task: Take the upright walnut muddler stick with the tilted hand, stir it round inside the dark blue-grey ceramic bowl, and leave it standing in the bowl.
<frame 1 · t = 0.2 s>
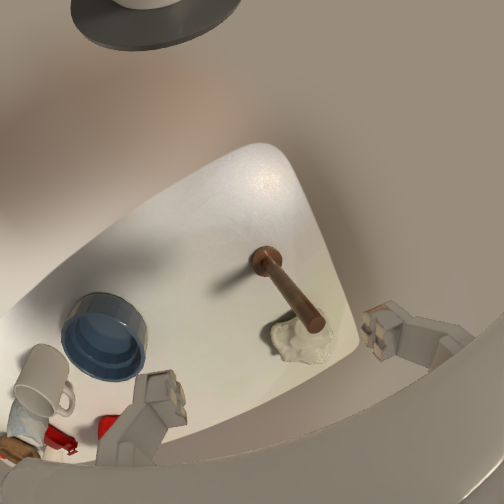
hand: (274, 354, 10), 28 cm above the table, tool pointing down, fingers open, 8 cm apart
toy car: (54, 429, 43), on the table
white tapered cup: (54, 449, 46), on the table
decorative stone: (295, 329, 47), on the table
figurine: (38, 393, 39), on the table
mug: (57, 366, 38), on the table
stir bowl: (108, 327, 38), on the table
muddler: (265, 260, 41), on the table
bowl: (22, 442, 43), on the table
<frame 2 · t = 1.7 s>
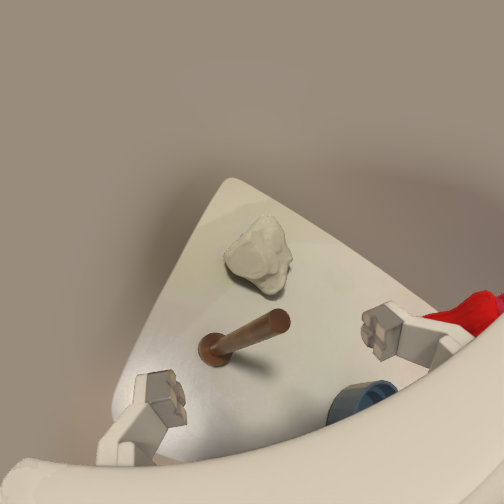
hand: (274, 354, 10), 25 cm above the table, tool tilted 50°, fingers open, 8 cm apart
water bottle: (421, 341, 53), on the table
decorative stone: (255, 264, 43), on the table
stir bowl: (354, 420, 37), on the table
muddler: (214, 350, 34), on the table
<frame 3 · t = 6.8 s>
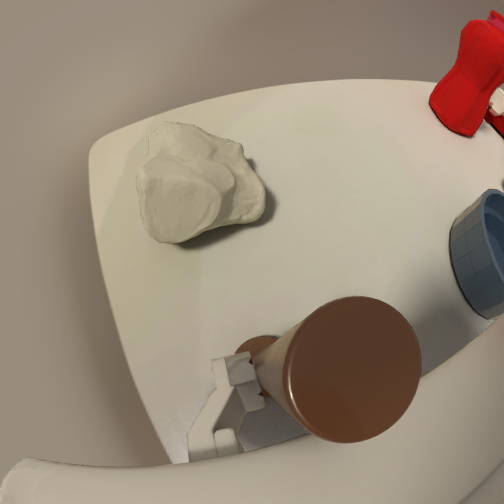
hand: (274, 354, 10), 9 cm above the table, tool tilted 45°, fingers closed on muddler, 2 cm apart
toy car: (501, 135, 36), on the table
water bottle: (452, 121, 34), on the table
white tapered cup: (494, 111, 42), on the table
decorative stone: (204, 199, 24), on the table
stir bowl: (484, 265, 23), on the table
muddler: (262, 367, 19), on the table, touching gripper
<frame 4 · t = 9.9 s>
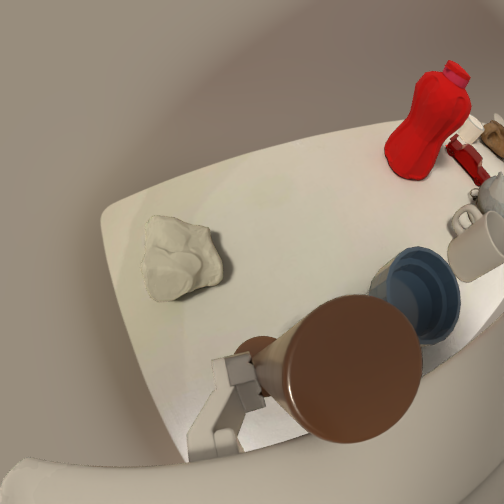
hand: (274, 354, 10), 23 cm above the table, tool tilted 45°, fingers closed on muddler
toy car: (464, 166, 49), on the table
water bottle: (406, 164, 46), on the table
white tapered cup: (464, 137, 54), on the table
decorative stone: (185, 265, 36), on the table
figurine: (476, 216, 43), on the table
mug: (457, 253, 39), on the table
stir bowl: (404, 304, 35), on the table
muddler: (262, 366, 19), point 14 cm above the table, touching gripper
bowl: (491, 148, 55), on the table
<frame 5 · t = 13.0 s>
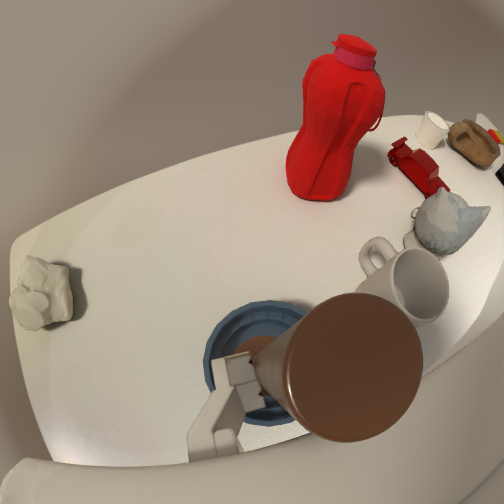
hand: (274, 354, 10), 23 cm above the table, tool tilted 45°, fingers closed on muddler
toy car: (414, 178, 45), on the table
water bottle: (318, 181, 43), on the table
white tapered cup: (425, 141, 50), on the table
decorative stone: (55, 298, 33), on the table
figurine: (418, 243, 39), on the table
mug: (371, 297, 35), on the table
stir bowl: (264, 364, 31), on the table
popsicle: (497, 139, 59), on the table
muddler: (262, 366, 19), point 13 cm above the table, touching gripper
bowl: (464, 153, 51), on the table
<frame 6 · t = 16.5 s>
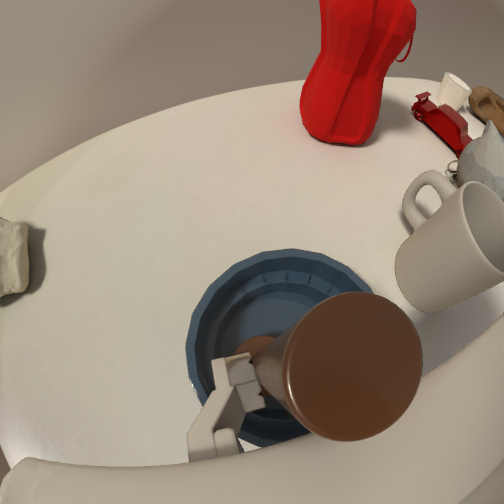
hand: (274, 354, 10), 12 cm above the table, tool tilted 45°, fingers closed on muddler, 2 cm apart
toy car: (442, 136, 35), on the table
water bottle: (338, 126, 33), on the table
white tapered cup: (446, 104, 40), on the table
decorative stone: (13, 267, 23), on the table
figurine: (458, 202, 29), on the table
mug: (416, 261, 25), on the table
stir bowl: (281, 353, 21), on the table
muddler: (261, 366, 19), point 2 cm above the table, touching gripper
bowl: (485, 122, 40), on the table
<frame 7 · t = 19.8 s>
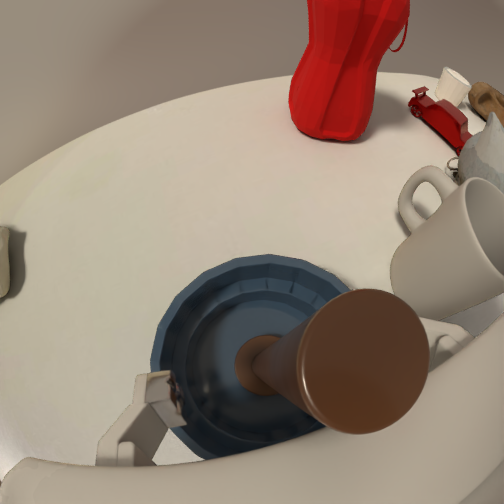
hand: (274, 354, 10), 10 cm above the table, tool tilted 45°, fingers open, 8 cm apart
toy car: (440, 133, 33), on the table
water bottle: (330, 121, 31), on the table
white tapered cup: (445, 100, 38), on the table
figurine: (458, 202, 27), on the table
mug: (414, 265, 23), on the table
stir bowl: (262, 367, 19), on the table
muddler: (265, 365, 19), point 1 cm above the table, touching stir bowl
bowl: (486, 119, 39), on the table
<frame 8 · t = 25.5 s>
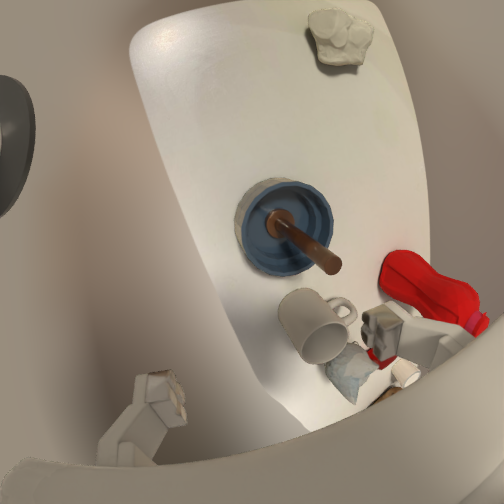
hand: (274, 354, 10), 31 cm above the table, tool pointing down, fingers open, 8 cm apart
toy car: (375, 347, 59), on the table
water bottle: (393, 272, 52), on the table
white tapered cup: (398, 365, 65), on the table
decorative stone: (332, 44, 33), on the table
figurine: (333, 344, 54), on the table
mug: (307, 303, 49), on the table
stir bowl: (276, 220, 42), on the table
muddler: (278, 222, 41), point 1 cm above the table, touching stir bowl
bowl: (380, 399, 70), on the table
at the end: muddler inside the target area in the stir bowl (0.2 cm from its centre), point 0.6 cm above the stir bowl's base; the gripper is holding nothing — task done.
